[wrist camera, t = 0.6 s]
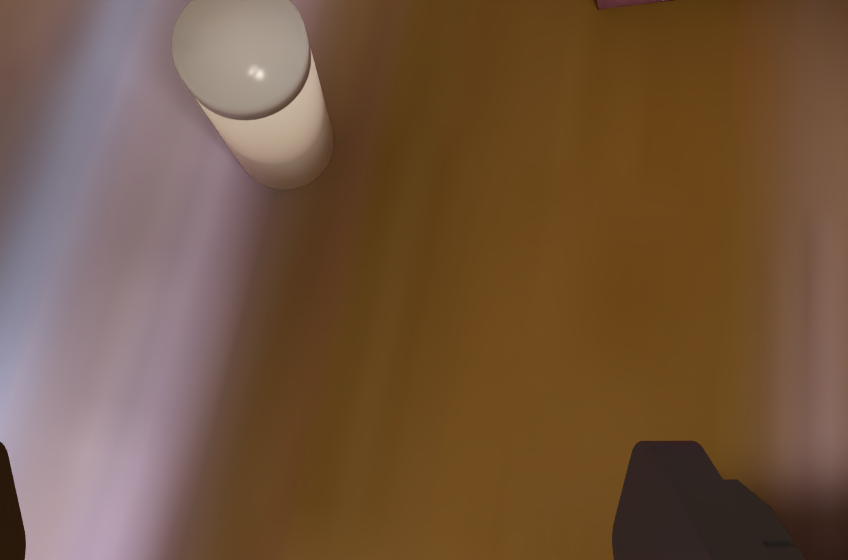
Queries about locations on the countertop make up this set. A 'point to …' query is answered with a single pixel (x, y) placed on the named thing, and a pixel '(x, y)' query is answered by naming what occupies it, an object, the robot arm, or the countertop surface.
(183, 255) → the countertop surface
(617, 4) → the pink storage box
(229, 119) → the salt shaker
